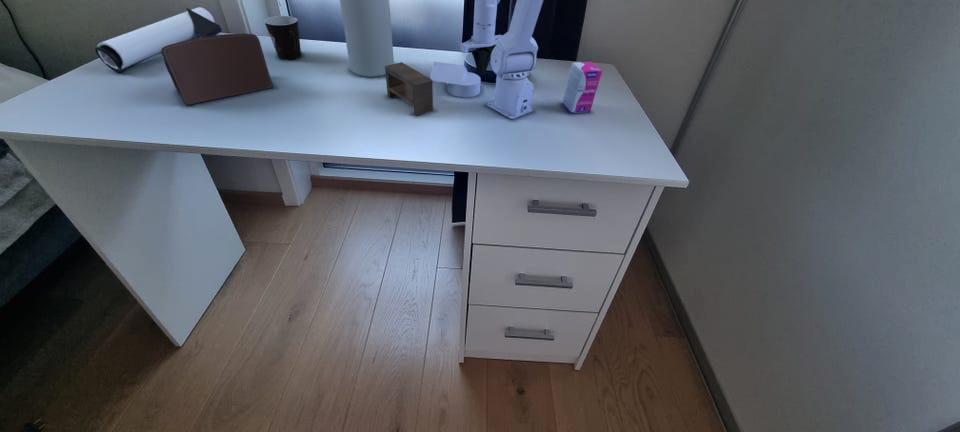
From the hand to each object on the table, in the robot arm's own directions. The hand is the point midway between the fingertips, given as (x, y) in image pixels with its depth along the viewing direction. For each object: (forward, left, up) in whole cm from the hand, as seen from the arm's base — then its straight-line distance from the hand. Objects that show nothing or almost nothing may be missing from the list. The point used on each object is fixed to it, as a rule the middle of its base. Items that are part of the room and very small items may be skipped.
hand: (481, 73), depth 112 cm
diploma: (+63, +61, -3) cm, 88 cm away
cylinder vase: (+24, +21, -3) cm, 32 cm away
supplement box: (-27, -10, -3) cm, 29 cm away
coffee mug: (+44, +37, -3) cm, 57 cm away
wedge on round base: (0, +9, -3) cm, 9 cm away
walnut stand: (0, +24, -2) cm, 25 cm away
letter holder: (+32, +58, -3) cm, 66 cm away
